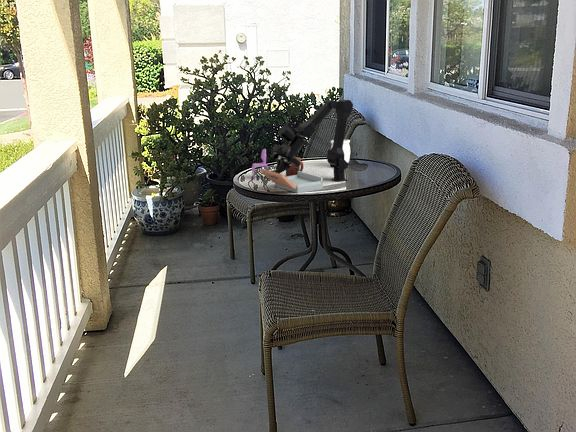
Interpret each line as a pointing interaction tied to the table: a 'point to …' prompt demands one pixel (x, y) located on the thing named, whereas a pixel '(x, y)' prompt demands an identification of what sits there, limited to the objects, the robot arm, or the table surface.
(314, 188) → the bed
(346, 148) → the jar
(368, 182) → the table surface
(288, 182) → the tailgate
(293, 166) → the mug
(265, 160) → the toy chair
